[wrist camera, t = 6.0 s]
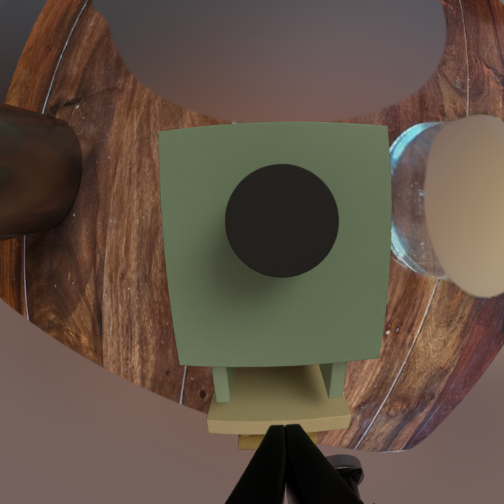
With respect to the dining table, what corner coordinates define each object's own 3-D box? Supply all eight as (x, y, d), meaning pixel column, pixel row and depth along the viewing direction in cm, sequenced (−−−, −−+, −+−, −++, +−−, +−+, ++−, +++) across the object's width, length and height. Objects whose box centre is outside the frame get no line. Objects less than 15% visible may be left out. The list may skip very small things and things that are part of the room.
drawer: (326, 409, 21) (339, 464, 15) (226, 412, 22) (216, 468, 16) (338, 252, 19) (369, 279, 13) (210, 256, 19) (186, 285, 13)
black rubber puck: (324, 259, 12) (338, 276, 9) (235, 262, 12) (227, 280, 9) (322, 169, 11) (337, 163, 9) (231, 172, 11) (222, 166, 9)
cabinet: (341, 301, 20) (379, 358, 12) (208, 305, 21) (179, 365, 13) (341, 151, 18) (387, 125, 11) (199, 155, 19) (158, 131, 11)
